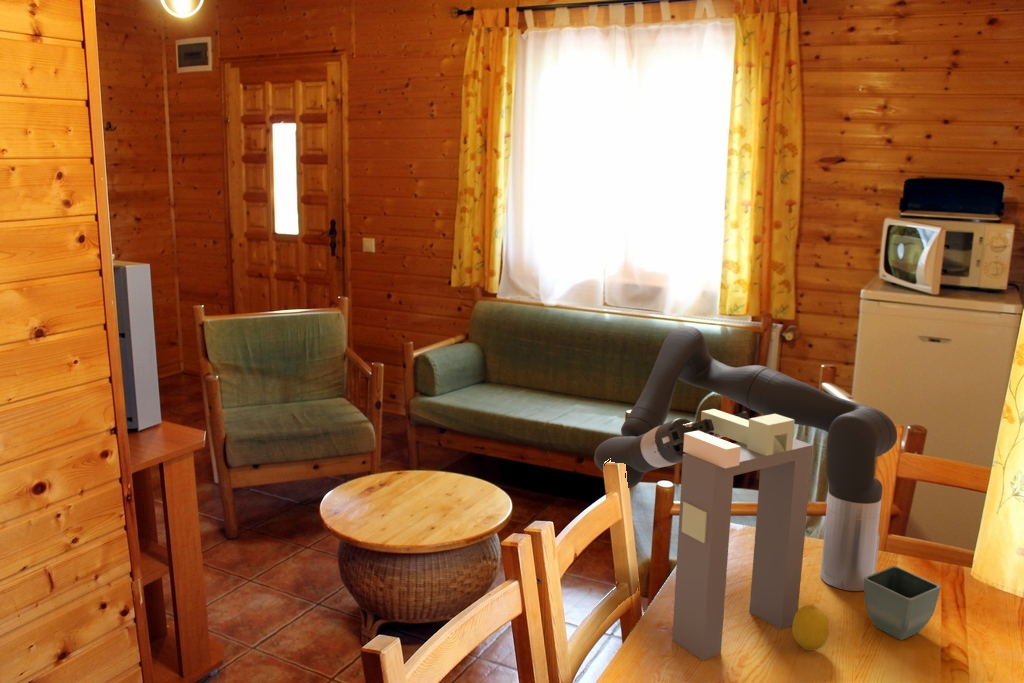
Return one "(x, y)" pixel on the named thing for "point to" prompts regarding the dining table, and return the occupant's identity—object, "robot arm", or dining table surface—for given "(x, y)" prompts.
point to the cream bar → (712, 449)
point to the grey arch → (709, 541)
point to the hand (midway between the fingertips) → (729, 420)
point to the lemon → (810, 627)
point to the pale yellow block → (754, 431)
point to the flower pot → (899, 601)
